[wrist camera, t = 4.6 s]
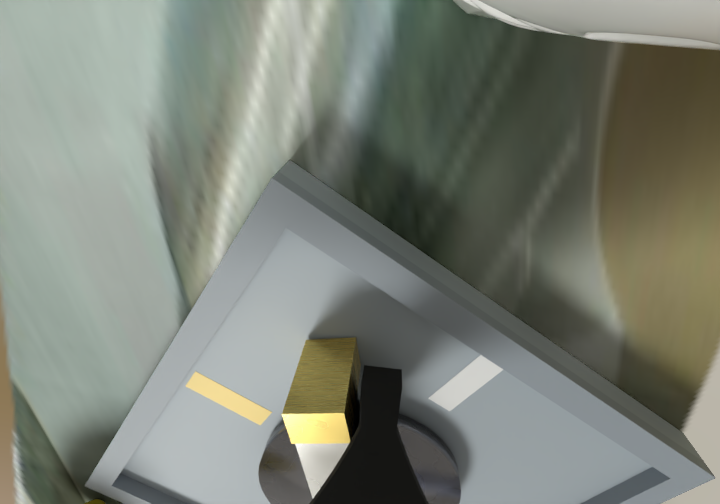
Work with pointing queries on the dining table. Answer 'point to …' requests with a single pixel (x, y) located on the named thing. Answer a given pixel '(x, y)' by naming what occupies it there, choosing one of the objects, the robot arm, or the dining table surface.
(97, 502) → the lemon
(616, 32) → the white cup
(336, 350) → the dial
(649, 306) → the dining table surface
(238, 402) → the dial plate
